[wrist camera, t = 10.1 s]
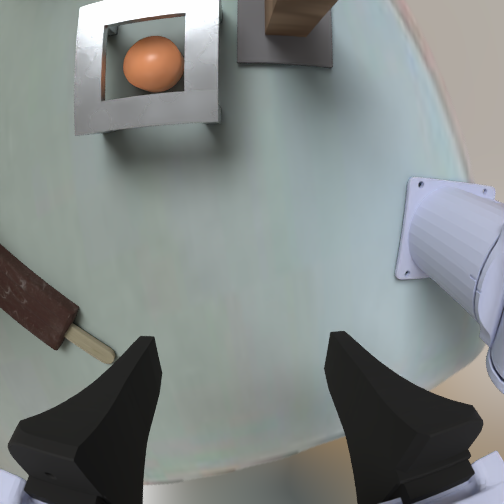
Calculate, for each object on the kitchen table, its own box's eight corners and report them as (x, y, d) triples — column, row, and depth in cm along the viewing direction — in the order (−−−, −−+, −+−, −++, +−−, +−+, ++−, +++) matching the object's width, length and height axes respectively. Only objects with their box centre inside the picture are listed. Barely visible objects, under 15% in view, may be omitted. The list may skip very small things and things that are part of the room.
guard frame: (221, 9, 16) (219, -15, 12) (221, 123, 19) (218, 121, 15) (104, 24, 15) (80, 7, 12) (102, 133, 18) (75, 135, 15)
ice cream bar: (128, 336, 25) (-5, 236, 21) (123, 348, 23) (-15, 243, 19) (106, 369, 26) (-15, 279, 22) (101, 381, 25) (-24, 286, 21)
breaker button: (185, 41, 16) (180, 32, 15) (184, 90, 18) (179, 86, 16) (134, 47, 16) (124, 40, 14) (133, 95, 18) (122, 92, 16)
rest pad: (327, -8, 15) (329, -11, 15) (330, 68, 18) (332, 66, 17) (237, -15, 15) (238, -17, 15) (237, 63, 17) (237, 61, 17)
